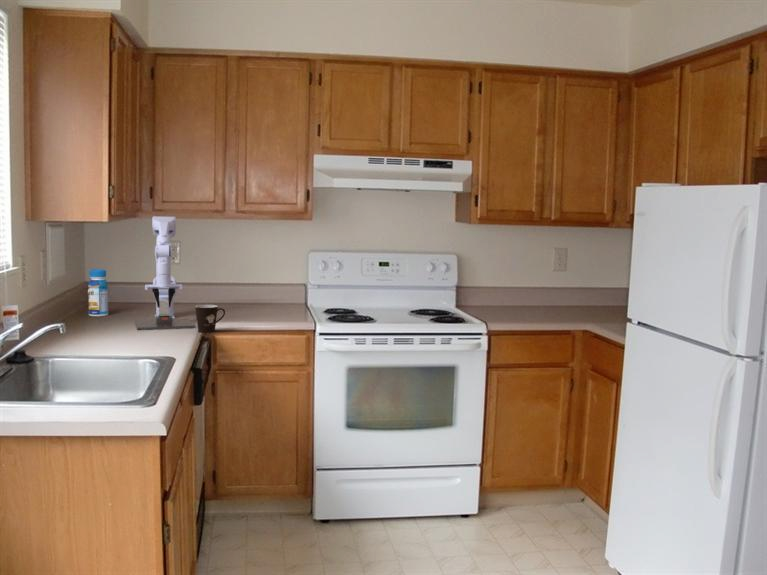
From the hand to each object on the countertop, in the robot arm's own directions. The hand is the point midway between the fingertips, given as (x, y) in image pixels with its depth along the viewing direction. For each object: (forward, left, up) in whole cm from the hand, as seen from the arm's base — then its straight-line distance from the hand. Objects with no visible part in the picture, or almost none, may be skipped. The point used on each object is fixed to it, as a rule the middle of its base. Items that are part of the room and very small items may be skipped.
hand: (163, 307), depth 306 cm
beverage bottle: (-33, -25, -8) cm, 42 cm away
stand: (0, 0, -7) cm, 7 cm away
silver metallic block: (0, 0, -3) cm, 3 cm away
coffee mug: (+20, +16, -8) cm, 27 cm away
